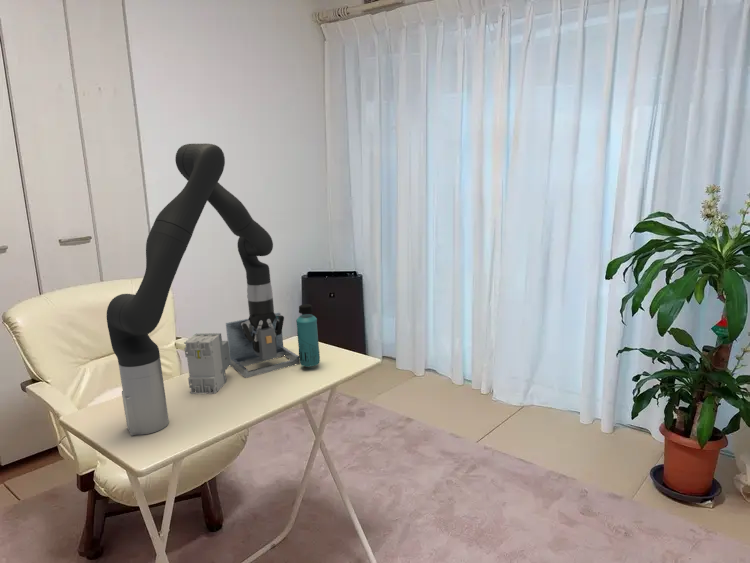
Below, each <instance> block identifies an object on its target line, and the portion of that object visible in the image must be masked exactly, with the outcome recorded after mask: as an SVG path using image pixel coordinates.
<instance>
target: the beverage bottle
mask: <svg viewBox="0 0 750 563" xmlns="http://www.w3.org/2000/svg"><path fill="white" fill-rule="evenodd" d="M298 313H299V314H301V315H300V316H298V317H297V318H296V334H297V336H296V337H297V341H298V342H297V344H298V345H297V346H298V356H299V359H300V360H299V361H300V364H299V365H301V366H302V367H314V366H315V367H316V366H318V365H319V364H320V362H321V356H320V355H321V354H320V353H321V352H320V349H321V348H320V343H319V335H318V323H317V322H318V318H317V317H316V316H315V315H313V314H312V313H313V306H312V304H309V303H308V304H307V303H306V304H305V303H304V304H301V305H299V306H298ZM310 313H311V314H310Z"/></svg>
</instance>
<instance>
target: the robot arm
mask: <svg viewBox="0 0 750 563" xmlns="http://www.w3.org/2000/svg"><path fill="white" fill-rule="evenodd" d="M174 160H175V165H176V168H177V169H178V171H179V173H180V175H181V176H182V177H184V179H185V180H186V181H187V182H186V183H185V186H184V187H183V188H182V190H181V191H180V192H179V193H178V194H177V195H176V196H175V197H174V198H172V200H171V201H170V202H168V204H166V205H165V206H164V207H163V209H162V210H161V211H159V213H158V215H157V216H156V218H155V220H154V222H153V223H152V227H151V228H150V231H149V233H148V235H147V238H146V242H145V261H146V262H145V264H146V265H145V266H146V267H145V271H144V272H145V273H144V274H143V278H142V281H141V282H140V285H139V287H138V289H137V291H136V293H135V294H134V293H133V294H132V293H121V294H118V295H116V296H115V297H114V298H112V299H111V300H110V302H109V304H108V306H107V309H106V322H107V323H106V324H107V329H108V330H107V331H108V334H109V339H110V343H111V347H112V348H111V349H112V351H113V353H114V355H115V356H116V358H117V361H118V370H119V376H120V382H121V383H120V384H121V389H122V391H121V397H122V403H123V410H124V416H125V421H126V422H125V423H126V427H127V430H128V431H129V434H130V436H131V437H132V436H136V435H148V434H153V433H156V432H159V431H161V430H163V429H164V428H166V427H167V426H168V425H169V423H170V420H169V419H170V418H169V413H168V406H167V404H168V403H167V399H166V390H165V382H164V377H163V376H164V375H163V370H162V363H161V361H162V360H161V354H160V349H159V346H158V344H157V343H155V342H154V340H152V338H151V337H150V336H149V334H151V333H152V332H153V331H155V329H156V328H157V327H158V325H159V323H160V321H161V319H162V316H163V313H164V311H165V310H164V309H165V307H166V302H167V300H168V297H169V294H170V290H171V287H172V284H173V282H174V279H175V277H176V274H177V272H178V269H179V266H180V264H181V262H182V260H183V256H184V255H185V253H186V250H187V249H188V245H189V244H190V241H191V238H192V237H193V234H194V231H195V229H196V226H197V223H198V221H199V219H200V217H201V215H202V213H203V210H204V208H205V206H206V204H207V202H208V203H209V204H210V205H211V206H212V208H214V210H215V211H216V212H217V214H219V216H220V217H221V219H222V220H223V222H224V223H225V224H226V226H227V228H228V229H229V230H230V231H231V233H232V234H233V235H235V236H236V237H238V239H237V244H236V245H237V251H238V254H239V257H240V260H241V262H242V265H243V267H244V271H245V276H246V277H245V278H246V292H247V293H246V294H247V295H246V297H247V305H248V313H249V317H248V318H247V319H248V321H246V322H241V323H240V325H241V328H242V330H243V332H244V335H245V337H246V339H247V340H249V341H252V342H253V350H254V351H255V352H257V353H259V352H260V351H259V341H258V334H259V333H258V330H261V329H263V328H268V327H269V328H270V327H273V325H272V324H273V322H274V320H275V319H276V321H277V322H276V327H275V342H276V336H277V335H280V334H281V332H282V333H283V326H284V321H285V316H284V315H282V314H281V315H280V314H279V315H275V313H276V312H275V311H274V310H275V309H274V308H275V307H274V297H273V287H272V284H271V272H270V266H269V264H267V263H265V262H263V261H261V260H259V257H265V256H268V255H270V254H271V253H272V251H273V249H274V242H273V238H272V237H271V235H270V234H269V232H268V231H267V230H266V229H265V228H264V227H262V226H261V225H260V224H259V223H258V222H257V221H256V220H254V218H253V217H252V215H251V213H250V212H249V211H248V209H247V208H246V206H245V205H244V204H243V203H242V201H241V200H240V199H239V198H238V197H236V196H235V195H234V194H233V193H231V192H230V191H229V190H227V188H225V187H224V186H223V185H222V184H220V182H219V181H220V180H221V176H222V175H223V173H224V169H225V165H226V159H225V153H224V150H222V148H221V147H220V146H218V145H216V144H215V143H214V144H212V143H186V144H183V145H181V146H180V147H179V148H178V149H177V150H176V153H175V159H174ZM249 324H251V325H252V326H253V330H252V332H253V333H252V336H251V334H250V332H249V329H248V328H249ZM273 328H274V327H273ZM255 329H257V330H255Z"/></svg>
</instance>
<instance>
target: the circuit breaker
mask: <svg viewBox="0 0 750 563" xmlns="http://www.w3.org/2000/svg"><path fill="white" fill-rule="evenodd" d="M183 344H184V345H185V347H184V355H185V358H186V359H187V367H188V375H189V376H188V378H187V380H188V388H189V389H190V392H189V394H195V395H196V394H197V395H198V394H201V395H202V394H206V395H207V394H209V395H211V394H214V395H215V394H217V392H219V391H220V390H221V389H222V387H223V386H225V384H226V383H227V375H226V370H227V369H228V368H229V367H230V355H229V346H228V340H223V339H222V333H221V332H220V333H219V332H218V333H217V332H216V333H214V332H213V333H195V334H194V335H192V336H191V337H189V338H188V339H186V341H184V342H183Z"/></svg>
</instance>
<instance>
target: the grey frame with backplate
mask: <svg viewBox="0 0 750 563" xmlns="http://www.w3.org/2000/svg"><path fill="white" fill-rule="evenodd" d="M274 313H275V315H279V314H280V315H282V313H281V312H274ZM248 319H249V318H245V319H239V320H234V321H230V322H225V329H226V338H227V340H226V341H228V346H229V355H230V365H229V367H230V366H231V367H232V368H233V369H234V370H235V371H236V372H238V374H240V375H241V376H242V377H243V378H245V379H246V378H250V377H254V376H258V375H262V374H266V373H270V372H273V370H274V371H278V370H281V369H284V367H285V368H287V367H288V366H289V367H293V366H296V365H295V364H297V365H301V364H300V361H299V360H300V358H299V354H296V353H294V352H293V351H291V350H290V349H288V348H287V347H285V346H284V341H283V340H284V337H283V331H282V332H281V334H280V335H277V336H276V353H277V356H276V357H272V358H268V359H264V360H263V359H262V358H260V357H259V356H257V355H256V354H255V351H254V350H253V342H252V341H249V340H247V339H246V337H245V335H244V332H243V330H242V328H241V325H240V323H241V322H246V321H248ZM276 322H277V321H276V319H275V320H274V322H273V324H272V325H273V327H274V331H275V327H276ZM248 329H249V332H250V334H251V336H252V333H253V332H252V325H251V324H249V328H248ZM284 355H285V356H286V357H287V358H286V357H285V356H284ZM280 356H284V357H285V358H286V359H288V358H289V359H290V360H289V359H288V360H287V361H283V362H279V363H274V364H270V365H266V366H262V367H258V368H254V369H250V370H248V368H247V367H246V366H251V364H252V365H255V363H256V364H259V362H260V363H263V361H264V362H267V361H266V360H268V361H271V360H270V359H272V360H274V359H273V358H276V359H278V358H277V357H280ZM280 358H281V357H280ZM292 365H293V366H292ZM280 368H281V369H280ZM277 369H278V370H277Z"/></svg>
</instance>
